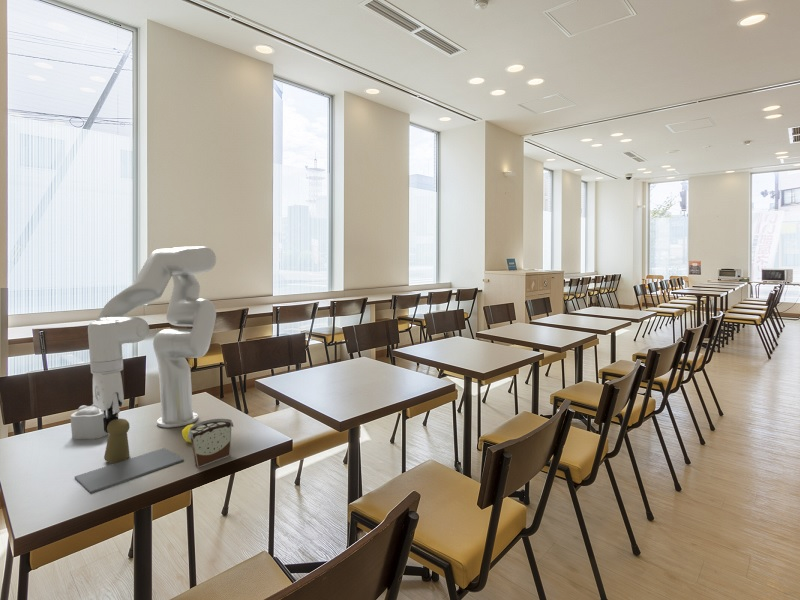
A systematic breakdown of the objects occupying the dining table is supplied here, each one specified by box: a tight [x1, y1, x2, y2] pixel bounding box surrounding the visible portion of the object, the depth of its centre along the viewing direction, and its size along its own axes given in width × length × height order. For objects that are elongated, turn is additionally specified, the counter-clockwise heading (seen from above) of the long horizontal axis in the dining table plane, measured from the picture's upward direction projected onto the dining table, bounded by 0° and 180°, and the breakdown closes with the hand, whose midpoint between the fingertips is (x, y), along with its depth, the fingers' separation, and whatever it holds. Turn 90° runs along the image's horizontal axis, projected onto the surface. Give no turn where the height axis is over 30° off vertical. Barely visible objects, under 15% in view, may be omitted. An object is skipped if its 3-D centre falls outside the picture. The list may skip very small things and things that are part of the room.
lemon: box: [181, 423, 196, 443], centre depth 139 cm, size 7×5×5 cm
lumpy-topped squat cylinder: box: [69, 403, 109, 440], centre depth 148 cm, size 10×13×9 cm
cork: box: [103, 418, 131, 464], centre depth 126 cm, size 6×6×11 cm
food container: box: [188, 418, 234, 469], centre depth 127 cm, size 12×6×10 cm, turn 141°
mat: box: [74, 447, 185, 494], centre depth 121 cm, size 12×22×1 cm, turn 140°
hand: (111, 430), depth 128 cm, fingers closed
